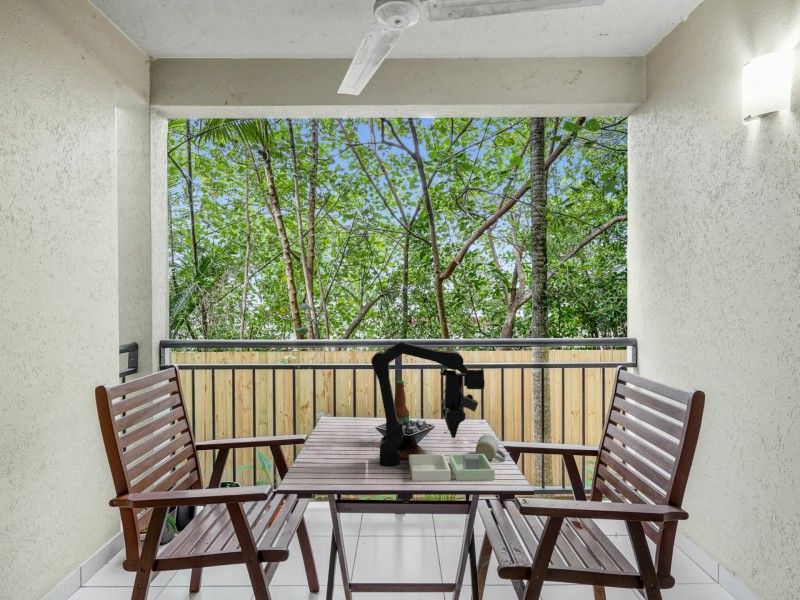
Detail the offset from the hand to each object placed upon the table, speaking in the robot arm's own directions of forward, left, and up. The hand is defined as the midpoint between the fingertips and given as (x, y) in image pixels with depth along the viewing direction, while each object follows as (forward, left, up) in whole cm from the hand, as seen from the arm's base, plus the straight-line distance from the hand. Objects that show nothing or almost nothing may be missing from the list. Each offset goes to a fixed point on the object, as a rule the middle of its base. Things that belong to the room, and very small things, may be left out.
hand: (451, 433), depth 176 cm
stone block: (+6, -6, -11) cm, 14 cm away
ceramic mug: (+16, +9, -12) cm, 22 cm away
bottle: (-16, +26, -12) cm, 33 cm away
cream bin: (-8, -6, -12) cm, 16 cm away
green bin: (+6, -6, -12) cm, 14 cm away
